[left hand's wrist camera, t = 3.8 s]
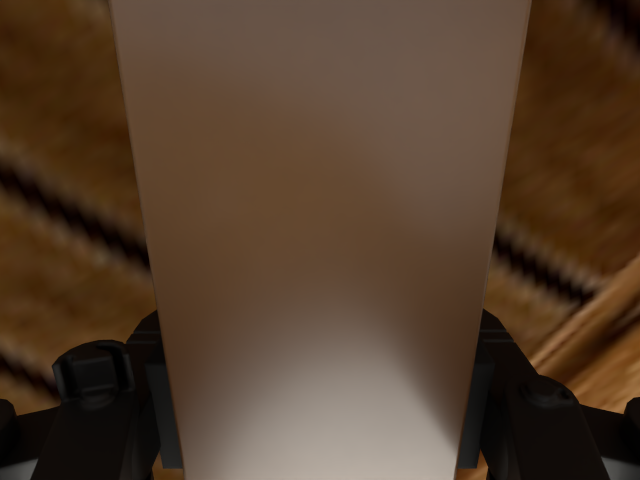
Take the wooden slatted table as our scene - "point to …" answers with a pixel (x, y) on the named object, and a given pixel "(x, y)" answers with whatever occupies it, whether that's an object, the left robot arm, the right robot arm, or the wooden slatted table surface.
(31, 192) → the wooden slatted table surface
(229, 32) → the bar
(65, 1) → the wooden slatted table surface
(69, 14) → the wooden slatted table surface
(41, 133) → the wooden slatted table surface
